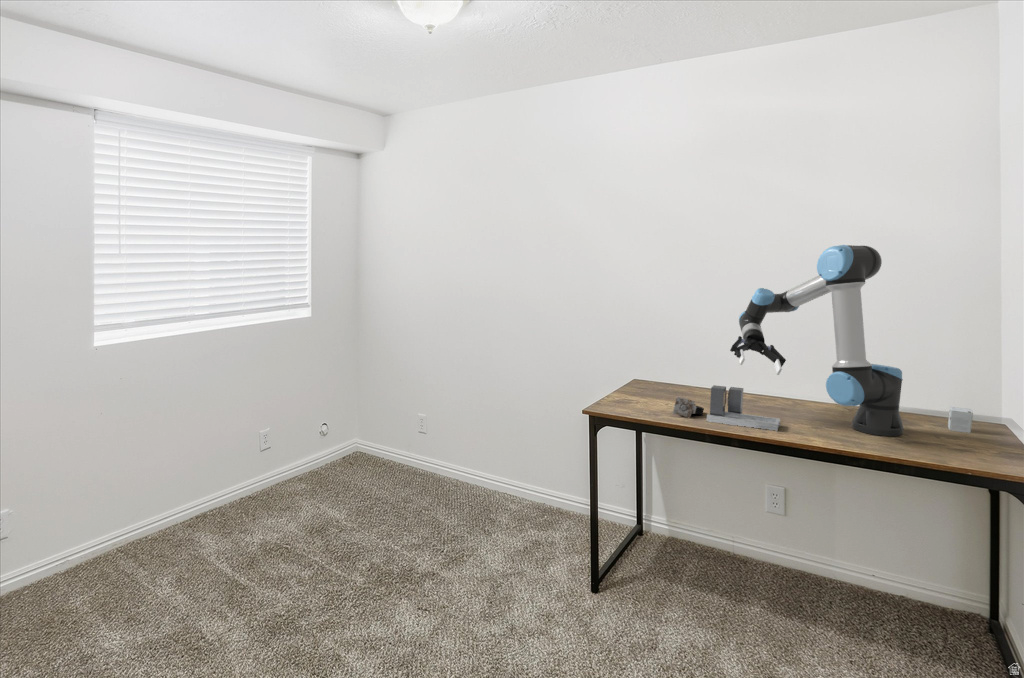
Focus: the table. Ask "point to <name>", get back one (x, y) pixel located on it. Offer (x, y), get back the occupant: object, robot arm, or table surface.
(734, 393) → the grey upright block
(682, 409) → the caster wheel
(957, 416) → the skincare box
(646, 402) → the table surface
